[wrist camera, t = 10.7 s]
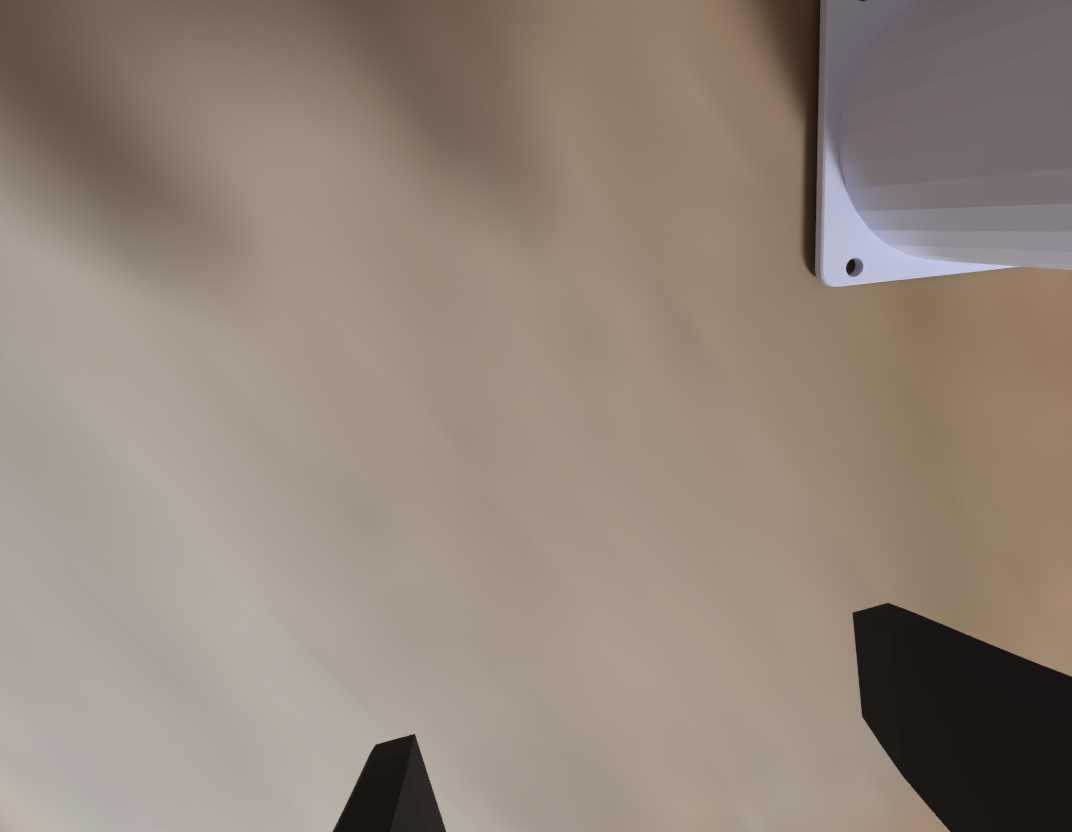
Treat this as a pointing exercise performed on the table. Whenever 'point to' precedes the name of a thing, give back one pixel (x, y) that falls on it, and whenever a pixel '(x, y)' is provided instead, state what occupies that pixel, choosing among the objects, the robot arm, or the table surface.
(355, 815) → the robot arm
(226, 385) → the table surface
